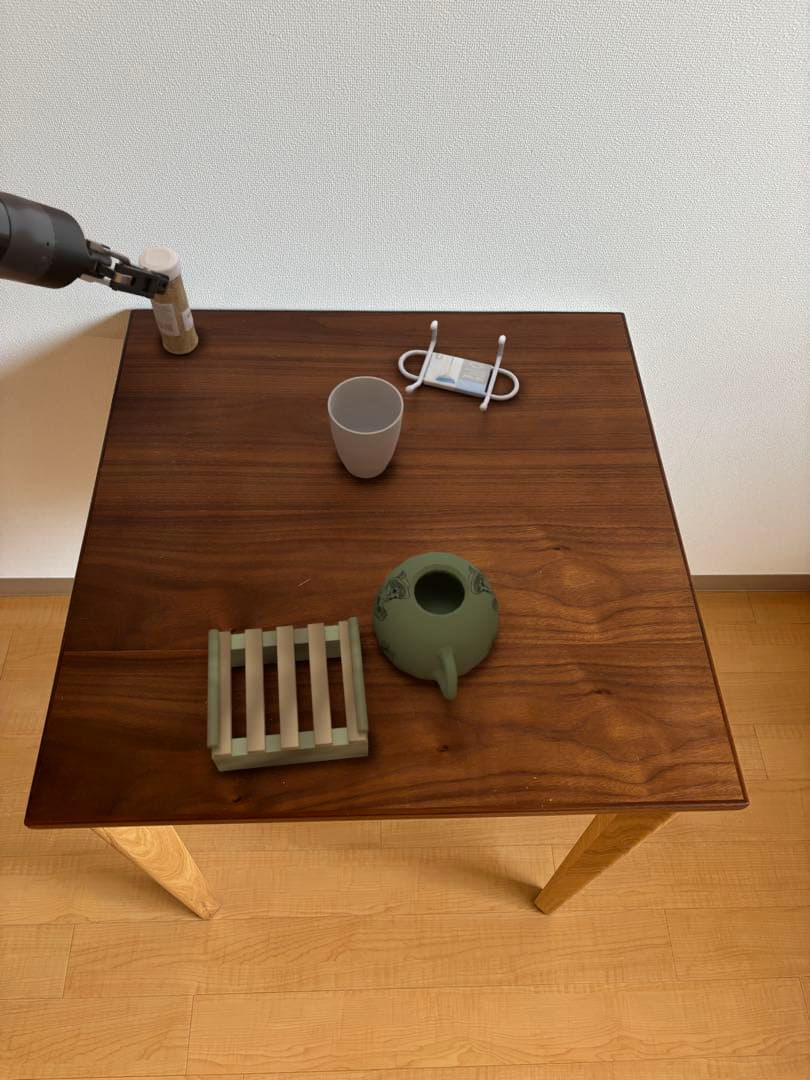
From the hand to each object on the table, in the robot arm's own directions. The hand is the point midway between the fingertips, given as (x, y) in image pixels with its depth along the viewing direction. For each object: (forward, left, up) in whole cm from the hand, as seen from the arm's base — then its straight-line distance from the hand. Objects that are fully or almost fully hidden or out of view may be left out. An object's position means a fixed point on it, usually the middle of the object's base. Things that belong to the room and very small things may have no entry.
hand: (135, 270), depth 91 cm
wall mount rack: (+36, -8, -15) cm, 40 cm away
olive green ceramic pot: (+29, -42, -15) cm, 53 cm away
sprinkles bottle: (+2, +3, -15) cm, 15 cm away
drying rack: (+14, -47, -14) cm, 51 cm away
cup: (+24, -18, -15) cm, 33 cm away
